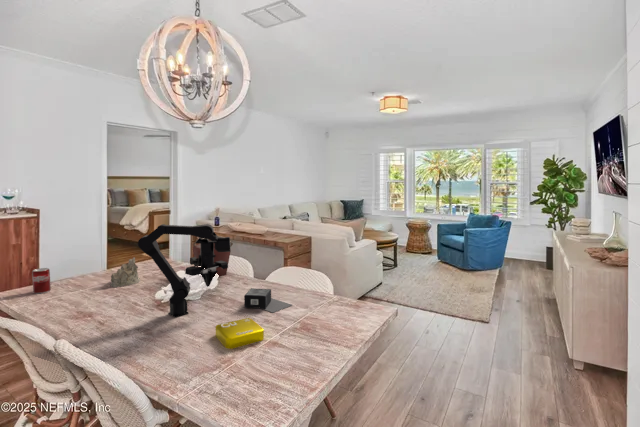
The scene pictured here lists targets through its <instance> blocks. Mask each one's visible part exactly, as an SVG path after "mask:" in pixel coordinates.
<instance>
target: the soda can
mask: <svg viewBox="0 0 640 427" xmlns="http://www.w3.org/2000/svg"><path fill="white" fill-rule="evenodd" d="M31 277H32V280H31V281H32V292H33V294H36V295H41V294H45V293H49V292H50V291H51V290H52V289H51V288H52V287H51V272H50V268H48V267H42V268H36V269H33V270H32V271H31Z"/></svg>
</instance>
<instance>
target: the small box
mask: <svg viewBox="0 0 640 427" xmlns="http://www.w3.org/2000/svg"><path fill="white" fill-rule="evenodd" d="M271 298H272V289H271V288H254V287H253V288H250V289H249V290H248V291H247V292H246V293H245V294H244V298H243V300H244V302H243V304H244V308H248V309H249V308H250V309H260V308H266V307H267V306H268V304H269V303H270V302H271Z"/></svg>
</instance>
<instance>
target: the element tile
mask: <svg viewBox="0 0 640 427" xmlns="http://www.w3.org/2000/svg"><path fill="white" fill-rule="evenodd" d="M264 332H265V330H264V328H263V327H262V326H261V325H260V324H258V322H256V321H254V319H252V318H250V317H246V318H241V319H236V320H232V321H228V322H224V323H218V324H217V325H216V326H215V338H216V339H217V340H218V341H219V342H220V344H222V346H223V347H224V348H225V349H227V350H233V349H236V348H240V347H245V346H248V345H252V344H256V343H260V342H262V341H264V340H265V337H264V336H265V333H264ZM263 339H264V340H263ZM259 341H260V342H259ZM255 342H256V343H255Z"/></svg>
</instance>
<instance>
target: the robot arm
mask: <svg viewBox="0 0 640 427" xmlns="http://www.w3.org/2000/svg"><path fill="white" fill-rule="evenodd" d="M163 235H175V236H176V235H177V236H178V235H179V236H180V235H181V236H193V237H196V238H198V239H196V240H197V241H196V240H195V241H196V244H200V255H199V258H195V257H194V256H193V257H190V258H189V264H190V265H191V266H188V267H186V268H185V274H186V275H189V276H191V277H194V276H199V274H201V275H202V277H201V278H202V279H203V281H204V283H205V287H207V288H209V287H210V286H211V284H212V281H213V279H214V278H213V277H214V276H215V274H216V272H218V271H217V270H216V268H218V267H221V268H222V269H226V268H227V269H228V268H229V263H227V262H225V261H216V262H215V263H214V257H216V255H214V243H215V250H216V251H218V252H230V251H232V250H231V248H232V246H231V243H230V241H231V237H230V236H226V237H225V236H222V237H221V238H218V236H219V235H218V234H216V232H215V230H214V226H212V224H210V223H209V224H208V223H207V224H198V225H175V224H172V225H171V224H165V223H163V224H160V225H158V226H157V227H156V228H155V229H154V230H153V231H152V232H151V233H149V234H146V235H144V236H143V237H140V238H139V239H138V242H137V247H138V248H139V249H140V250H141V251H142V252H143V253H144V254H146V255H147V256H149V257H150V258H151V260H152V261H153V262H154V263H155V264H156V266H157V267H158V268H159V270H160V272H162V274H163V276H164V277H165V278H166V280H167V281H168V282H169V284H170V288H171V289H172V292H173V293H172V294H171V296H170V298H169V299H168V300H169V312H168V313H167V314H168V315H170V316H172V317H174V318H178V317H181V316H184V315H189V311H188V301H187V297H188V296H189V293H190V292H191V286H190V285H191V283H190V282H188V280H187V278H186V277H185V276H184V277H183V278H182V277H180V276H179V275H178V273H177V272H176V271H175V269H174V268H173V267H172V265H171V264H170V263H169V261H168V260H167V258H166V257H165V256H164V254H163V253H162V251H161V249H160V246H159V244H158V242H157V240H158V239H159V238H161V237H162V236H163ZM202 238H203V239H202ZM230 253H231V252H230ZM197 266H201V267H197ZM204 268H205V269H204Z"/></svg>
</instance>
